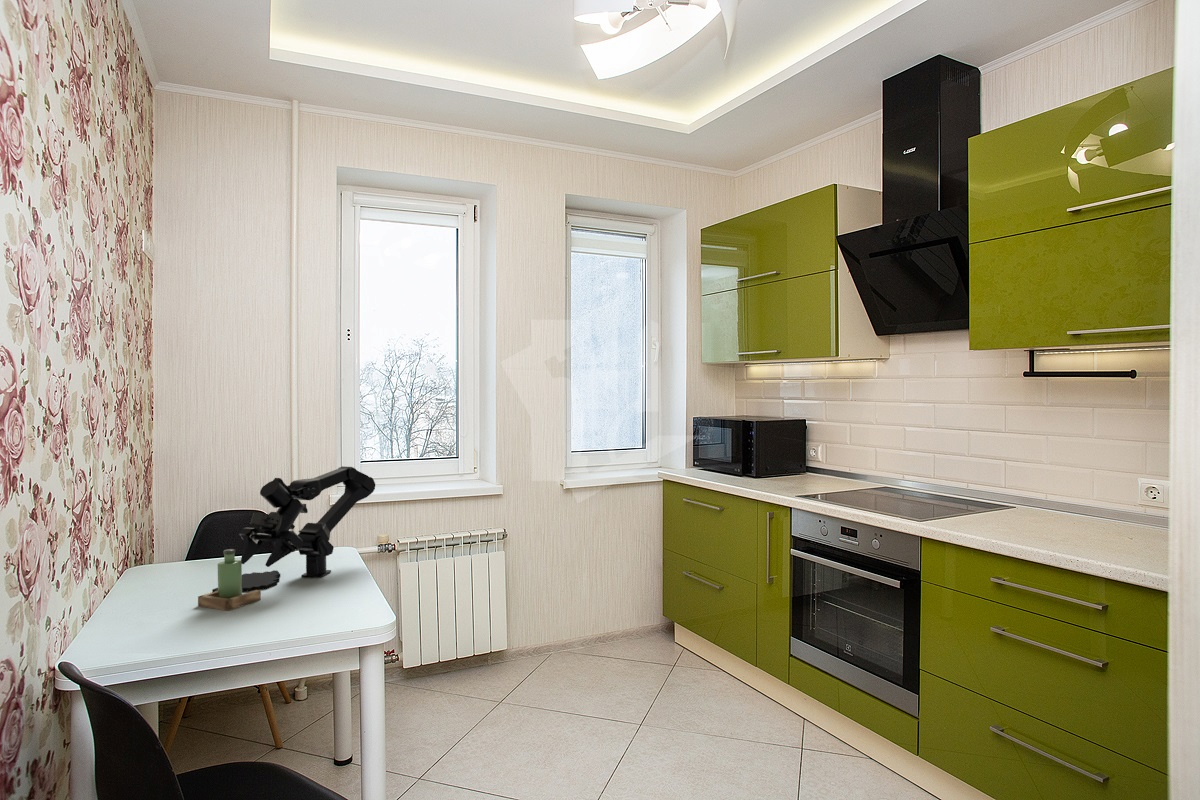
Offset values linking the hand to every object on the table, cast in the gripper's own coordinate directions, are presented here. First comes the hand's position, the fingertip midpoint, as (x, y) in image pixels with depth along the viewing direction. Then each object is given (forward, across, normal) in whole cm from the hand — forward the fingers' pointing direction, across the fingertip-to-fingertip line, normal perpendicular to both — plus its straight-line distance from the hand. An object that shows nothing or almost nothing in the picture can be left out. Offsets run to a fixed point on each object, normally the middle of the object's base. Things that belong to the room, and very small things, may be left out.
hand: (254, 564), depth 190 cm
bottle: (+11, 0, 0) cm, 11 cm away
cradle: (+11, 0, 0) cm, 11 cm away
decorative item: (+1, -12, +12) cm, 17 cm away
